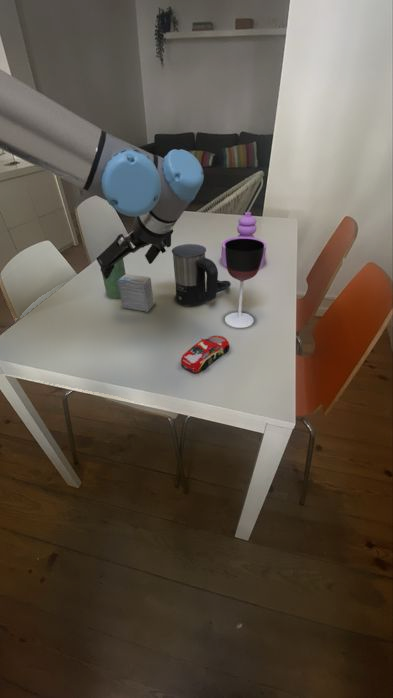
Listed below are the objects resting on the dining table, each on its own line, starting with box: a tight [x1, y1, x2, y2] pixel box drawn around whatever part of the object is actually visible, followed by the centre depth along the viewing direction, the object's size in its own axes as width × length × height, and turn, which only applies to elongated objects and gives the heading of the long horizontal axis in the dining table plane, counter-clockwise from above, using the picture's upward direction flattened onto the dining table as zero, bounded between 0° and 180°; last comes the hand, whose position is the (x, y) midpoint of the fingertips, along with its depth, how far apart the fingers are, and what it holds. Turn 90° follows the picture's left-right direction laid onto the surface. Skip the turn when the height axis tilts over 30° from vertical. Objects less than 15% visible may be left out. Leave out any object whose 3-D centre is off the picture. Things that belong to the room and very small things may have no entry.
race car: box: [180, 335, 230, 373], centre depth 71 cm, size 13×5×4 cm, turn 137°
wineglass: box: [224, 239, 264, 329], centre depth 78 cm, size 8×9×20 cm
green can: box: [101, 258, 127, 300], centre depth 93 cm, size 7×7×12 cm
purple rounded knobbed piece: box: [220, 211, 267, 269], centre depth 113 cm, size 25×15×13 cm, turn 169°
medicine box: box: [118, 273, 155, 313], centre depth 87 cm, size 8×4×9 cm, turn 71°
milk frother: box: [171, 243, 232, 307], centre depth 90 cm, size 14×16×15 cm
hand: (127, 266), depth 84 cm, fingers open, 13 cm apart
